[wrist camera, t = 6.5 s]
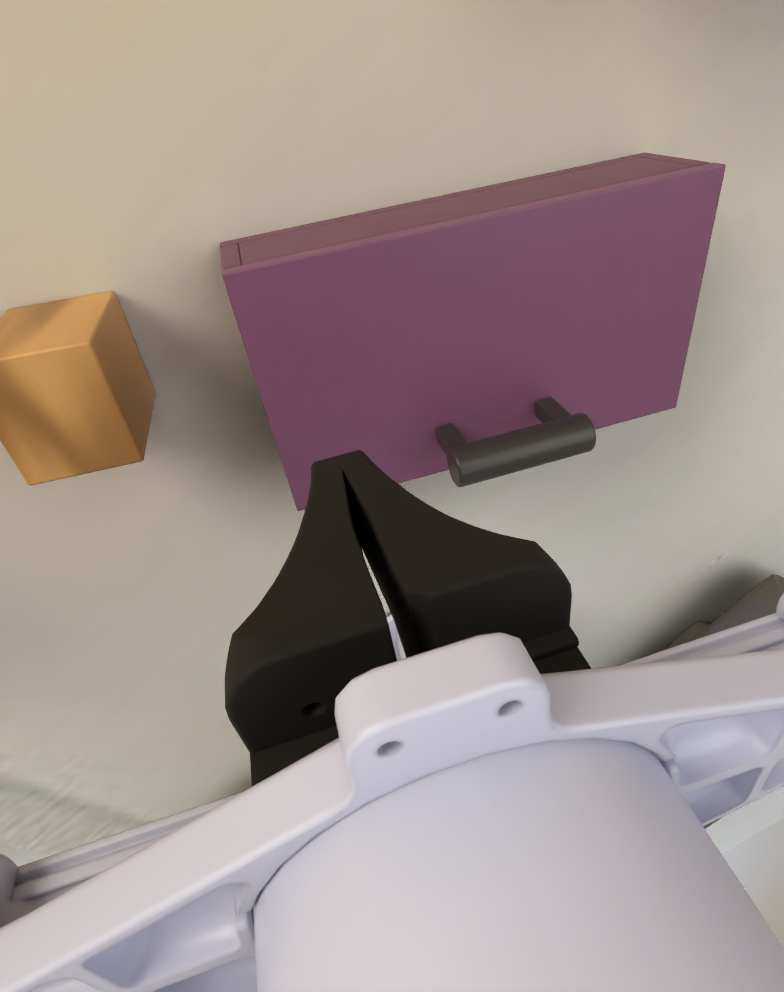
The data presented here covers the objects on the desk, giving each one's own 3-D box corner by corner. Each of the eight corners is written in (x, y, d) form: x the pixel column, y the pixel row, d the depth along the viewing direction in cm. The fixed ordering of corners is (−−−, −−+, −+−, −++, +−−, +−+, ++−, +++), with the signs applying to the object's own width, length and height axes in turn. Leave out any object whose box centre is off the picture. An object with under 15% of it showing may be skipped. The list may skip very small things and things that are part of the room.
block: (144, 461, 18) (28, 487, 17) (156, 394, 22) (61, 413, 21) (90, 341, 15) (-48, 367, 15) (114, 289, 19) (6, 308, 19)
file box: (620, 354, 26) (670, 386, 23) (281, 442, 24) (291, 488, 21) (645, 152, 21) (712, 162, 18) (219, 242, 19) (221, 268, 16)
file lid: (667, 401, 24) (728, 443, 21) (295, 502, 22) (308, 564, 19) (713, 162, 18) (805, 176, 15) (221, 269, 16) (223, 307, 13)
